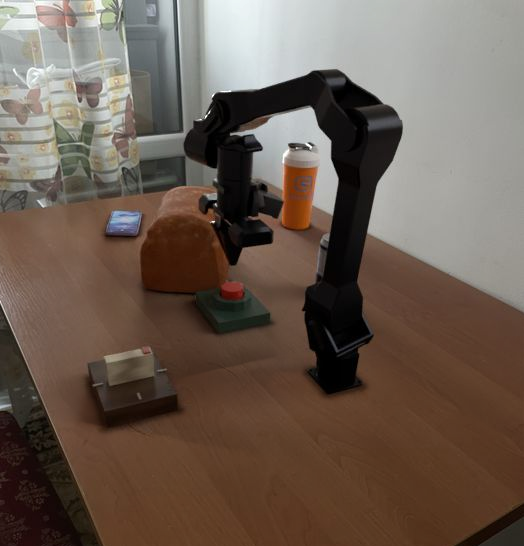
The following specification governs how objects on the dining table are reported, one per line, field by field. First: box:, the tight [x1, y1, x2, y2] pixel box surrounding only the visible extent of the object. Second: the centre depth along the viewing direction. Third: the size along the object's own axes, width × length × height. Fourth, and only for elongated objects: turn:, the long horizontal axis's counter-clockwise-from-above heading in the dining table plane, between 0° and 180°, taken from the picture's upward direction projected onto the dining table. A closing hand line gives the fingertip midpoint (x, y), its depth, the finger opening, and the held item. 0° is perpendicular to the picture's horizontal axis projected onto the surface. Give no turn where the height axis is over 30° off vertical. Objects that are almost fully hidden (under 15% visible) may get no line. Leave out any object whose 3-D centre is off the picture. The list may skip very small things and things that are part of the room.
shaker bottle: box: [281, 141, 321, 230], centre depth 135 cm, size 9×9×20 cm
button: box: [221, 281, 243, 300], centre depth 99 cm, size 4×4×2 cm
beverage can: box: [314, 232, 330, 284], centre depth 106 cm, size 6×6×12 cm
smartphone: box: [105, 209, 143, 237], centre depth 135 cm, size 7×1×15 cm
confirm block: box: [194, 283, 271, 334], centre depth 101 cm, size 12×10×4 cm
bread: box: [139, 185, 230, 294], centre depth 113 cm, size 17×24×15 cm
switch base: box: [86, 349, 179, 429], centre depth 80 cm, size 12×11×3 cm
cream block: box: [103, 345, 154, 386], centre depth 78 cm, size 6×2×4 cm, turn 116°
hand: (232, 264), depth 96 cm, fingers closed
